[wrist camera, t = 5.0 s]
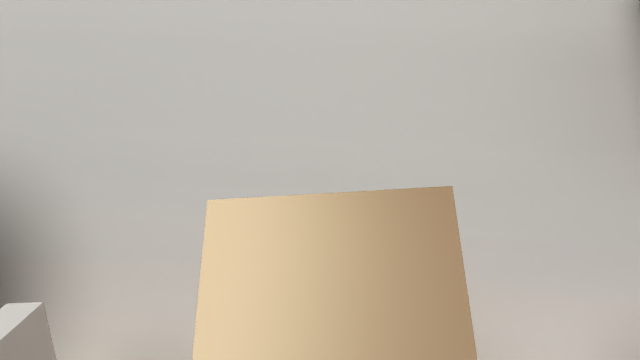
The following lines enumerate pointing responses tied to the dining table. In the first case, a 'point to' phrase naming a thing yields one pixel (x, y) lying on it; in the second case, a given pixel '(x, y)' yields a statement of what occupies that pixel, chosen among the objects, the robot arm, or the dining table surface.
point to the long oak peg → (334, 278)
